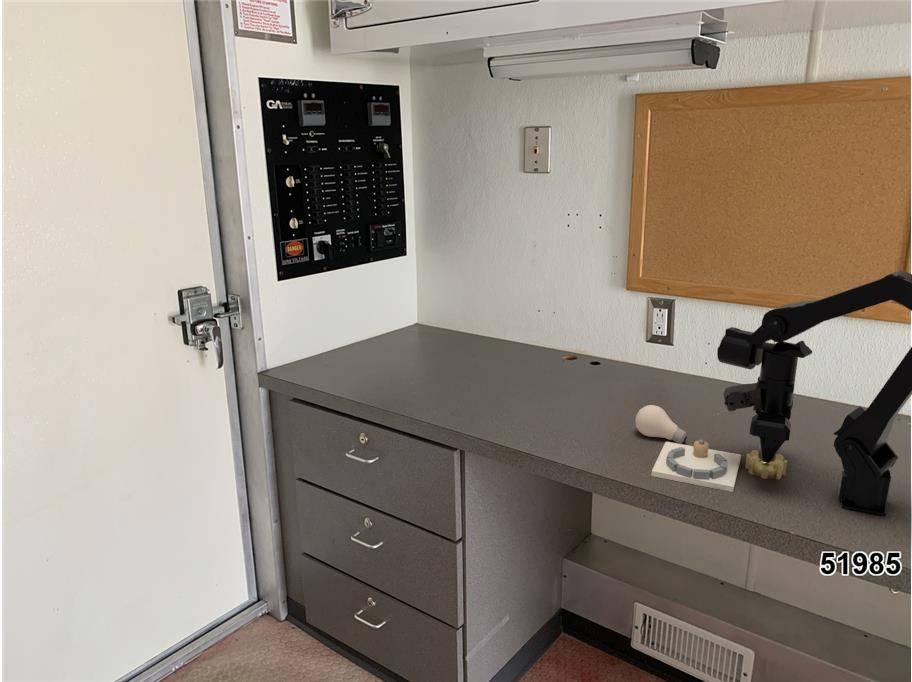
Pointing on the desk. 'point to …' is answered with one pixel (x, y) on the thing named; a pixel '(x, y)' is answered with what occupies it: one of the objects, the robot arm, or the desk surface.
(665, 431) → the light bulb
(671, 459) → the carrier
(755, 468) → the planet gear
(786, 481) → the desk surface
